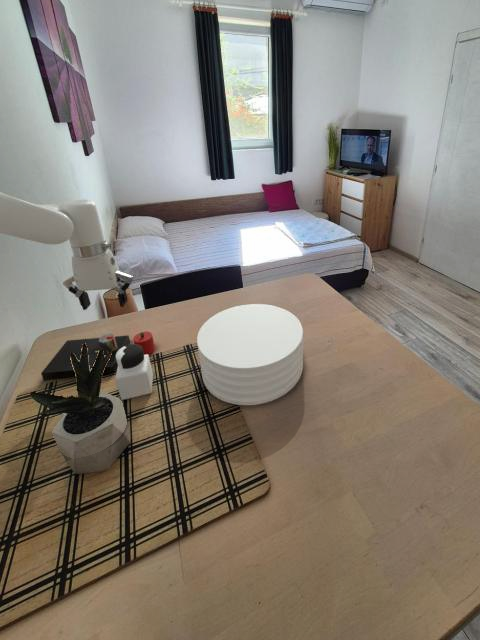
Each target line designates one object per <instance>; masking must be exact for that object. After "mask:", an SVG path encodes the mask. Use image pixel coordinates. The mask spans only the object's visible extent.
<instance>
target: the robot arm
mask: <svg viewBox="0 0 480 640" xmlns="http://www.w3.org/2000/svg"><path fill="white" fill-rule="evenodd" d="M0 234H4V235H8V236H10V237H15V238H18V239H19V238H20V239H24V240H27V241H31V242H36V243H40V244H45V245H51V246H52V245H53V246H54V245H61V244H64V243H66V242H67V241H69V244H70V247H71V250H72V256H71V268H72V275H71V276H70V277H69V278H67V279H65V280H64V281H63V282H62V285H63V286H64V287H65V288H66V289H68V291H69V292H70V293H72V294H73V295H74V296H75V298H78V301H79V304H80V306H81V307H82V310H83V311H86V310H87V309H88V308H89V307H90V306H91V299H90V297H89V294H88V292H87V291H89V292H90V291H101V290H102V291H103V290H111V289H112V290H114V291H116V292H117V293H118V294H117V299H118V303H119V306H120V307H121V308H124V307H125V306H126V304H127V303H128V300H129V299H128V295H127V294H128V293H127V290H128V288H130V286H131V284H132V281H133V278H134V276H133V275H131V274H128V273H125V272H122V271H121V270H120V268H119V264H118V261H117V260H116V258H115V256H114V254H113V252H112V250H111V249H112V243H111V242H107V241H106V239H105V236H104V233H103V229H102V225H101V220H100V217H99V213H98V208H97V205H96V203H95V202H94V201H93V200H91V199H83V198H82V199H73V200H67V201H65V202H61V203H51V204H48V203H47V204H35V203H33V202H29V201H27V200H23V199H20V198H17V197H15V196H11V195H9V194H6V193H4V192H1V191H0ZM122 280H124V281H125V282H124V283H123V282H121V281H122ZM74 283H75V285H74Z"/></svg>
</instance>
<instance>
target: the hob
mask: <svg viewBox="0 0 480 640" xmlns="http://www.w3.org/2000/svg"><path fill="white" fill-rule="evenodd" d="M114 336H115V340H116V344H117V347H118V349H117V351H116V352H115V353H113V354H112V355H111V357H110V360H109V361H108V363H107V365H106V367H105V370H104V373H103V375H113V374H115V372H117V369H118V363H117V360H116V353H117V352H118V351H119V350H120V349H121V348H122V347H124V346H127V345H130V344H131V339H130V335H128V334H127V335H117V336H116V335H114ZM99 338H100V337H91V338H80V339H79V338H78V339H70V340H69V339H68V340H66V341H65V343H64V344H63V345H62V346H61V348H60V349H59V350H58V351H57V352H56V354H55V355H54V356H53V358H52V359H51V360H50V361H49V362H48V363H47V365H46V366H45V368H44V369H43V370H42V371H41V373H40V374H41V377H42V379H43V381H51V380H62V379H73V378H76V377H75V372H74V370H73V367H72V364H71V360H70V353H74V354H75V355H76V357H77V359H78V360H80V355H81V348H82V344H83V343H86V345H87V348H88V355H89V365H90V369H91V368H92V366H93V364H94V362H95V360H96V357H97V354H98V351H99V350H100V349H101V347H100V343H99ZM103 375H102V376H103Z"/></svg>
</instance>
